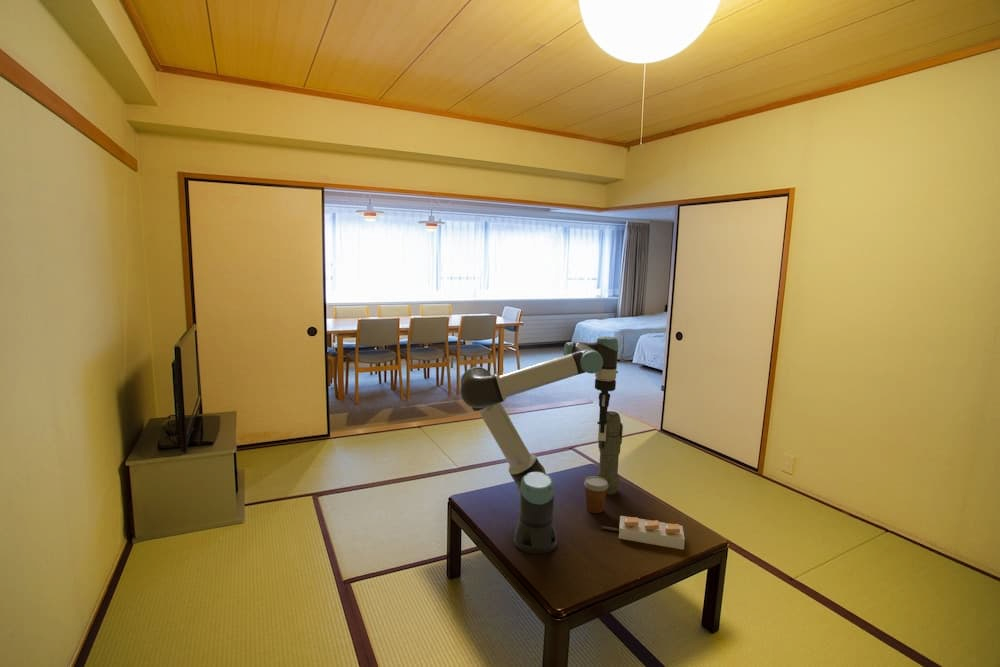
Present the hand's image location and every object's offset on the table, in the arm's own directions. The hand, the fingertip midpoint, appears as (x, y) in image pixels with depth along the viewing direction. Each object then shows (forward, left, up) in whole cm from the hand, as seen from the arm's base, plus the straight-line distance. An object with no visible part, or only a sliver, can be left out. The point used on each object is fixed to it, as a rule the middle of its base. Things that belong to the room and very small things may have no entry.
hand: (601, 440), depth 177 cm
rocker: (+19, -20, -27) cm, 38 cm away
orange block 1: (+7, -12, -27) cm, 30 cm away
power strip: (+11, -13, -32) cm, 37 cm away
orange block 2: (+13, -16, -27) cm, 34 cm away
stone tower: (+16, +22, -33) cm, 42 cm away
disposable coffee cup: (+3, +8, -33) cm, 34 cm away
